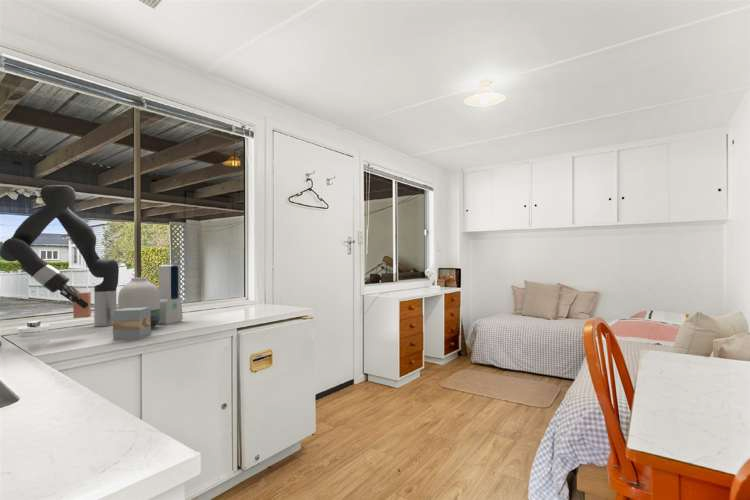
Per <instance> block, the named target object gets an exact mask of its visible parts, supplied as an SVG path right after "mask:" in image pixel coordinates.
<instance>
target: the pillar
mask: <svg viewBox="0 0 750 500" xmlns="http://www.w3.org/2000/svg"><path fill="white" fill-rule="evenodd" d="M79 292H80V291H79ZM77 296H79V297H80V298H81V299H82V300H84V301H85V302H86V303H88V306H87V307H86V308H82V307H81V306H80V305H78V304H77V302H76V303H74V302H72V303H73V305H72V306H73V309H72V311H73V313H72V315H73V319H80V318H83V319H84V318H90V317H91V315H92V299H91V298H92V293H91V291H84V292H83V291H81V292H80V293H77ZM73 298H74V297H73Z"/></svg>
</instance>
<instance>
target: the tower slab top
mask: <svg viewBox="0 0 750 500" xmlns="http://www.w3.org/2000/svg"><path fill="white" fill-rule="evenodd" d="M150 316H151V307H141V308H124V309H119V310H118V309H117V310H115V311H113V321H121V320H141V319H144V318H147V317H150Z"/></svg>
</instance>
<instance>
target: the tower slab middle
mask: <svg viewBox="0 0 750 500" xmlns="http://www.w3.org/2000/svg"><path fill="white" fill-rule="evenodd" d="M149 326H151V317H147V318H144V319H141V320H121V321H113V325H112V332H113V331H120V330H140V329H143V328H146V327H149Z"/></svg>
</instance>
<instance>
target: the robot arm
mask: <svg viewBox="0 0 750 500" xmlns="http://www.w3.org/2000/svg"><path fill="white" fill-rule="evenodd" d="M40 197H41V200H42V201H43V204H44V205H45V206H43V207H42V208H41V209H39V210H37V211H36V212H34V213H33V214H31V215H29V216H28V217H27V218H26V219H24V221H23V222H22V223H20V225H19V226H18V228H17V229H16V230H15V231H14V233H13V235H12V236H11V238H8V239H6V240H5V241H4V242H3V243H2V245H1V247H0V258H1V259H3V260H4V261H6V262H18V263H19V264H20V268H21V269H22V270H23V271H24V272H25V273H26V274H28V275H29V276H31V278H33V279H34V280H35V281H36V282H37V283H39V284H40V285H41V286H42V287H44V288H45V289H47V290H49V292H51V293H56V292H58V291H59V295H61V296H63V298H65V299H67V300H69V301H70V302H72V303H73V302H74V303H76V302H77V304H78V305H80V306H81V307H82V308H86V307H87V306H88V303H86V302H85V301H84V300H82V299H81V298H80V297H79V296H77V293H80V291H79V290H78V289H76V288H75V287H74V286H72V285H69V284H67V283H68V282H69V281H70V278H69V277H67V276H66V275H64V274H63V273H62V272H61V271H59V270H58V269H57V268H55V267H54V266H52V265H50V264H49V263H48V262H46V260H44V259H43V258H41V257H40V256H39V255H38V253H37V252H35V250H34V249H33V248H32V246H31V245H32V244H33V243H35V241H36V240H37V239H38V238H39V237H40V235H41V234H42V233H43V231H45V229H46V228H47V226H49V225H50V224H51V223H52V222H53V221H54V220H55V219H57V220H58V222H59V223H60V225H61V226H62V227H63V229H64V231H66V234H67V235H68V237H69V238H70V240H71V241H72V243H73V244H74V246H75V247H76V248H77V250H78V251H79V253H80V254H81V256H82V258H83V260H84V262H85V264H86V267H87V269H88V270H89V272H90V273H91V275H92V276H93V277H95V278H97V279H98V278H100V279H102V278H103V279H102V281H101V282H100V283H99V284H96V285H95V286H94V290H93V291H94V297H93V299H94V300H93V302H94V303H93V304H94V306H93V307H94V308H93V309H94V310H93V314H94V319H93V323H94V324H93V326H94V327H109V326H113V311H115V310H118V304H117V287H118V284H119V273H120V267H119V263H118V262H117V260H115V259H111V258H110V259H105V258H104V259H101V258H100V257H99V255H98V253H97V251H96V245H97V235H96V234H95V232H94V230H93V228H92V227H91V226H90V224H89V223H88V222H86V221H85V220H84V219H82V218H81V217H80V216H78V215H77V214H76V213H74V212H73V211H72V210H71V209H70V208H69V207H70V206H71V205H73V203H74V202H75V201H76V197H77V194H76V191H75V189H74V188H73V187H72V186H70V185H67V184H49V185H44V186H42V187H41V189H40ZM73 297H74V298H73Z"/></svg>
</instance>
